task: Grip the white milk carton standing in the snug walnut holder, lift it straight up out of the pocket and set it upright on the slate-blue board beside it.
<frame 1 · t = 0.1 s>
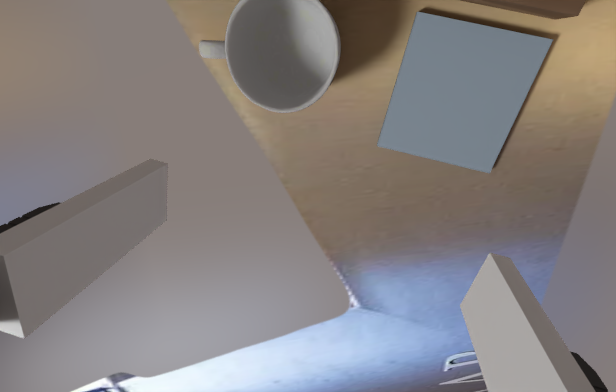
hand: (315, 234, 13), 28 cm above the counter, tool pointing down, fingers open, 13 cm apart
board: (454, 97, 36), on the counter
teacup: (284, 48, 37), on the counter
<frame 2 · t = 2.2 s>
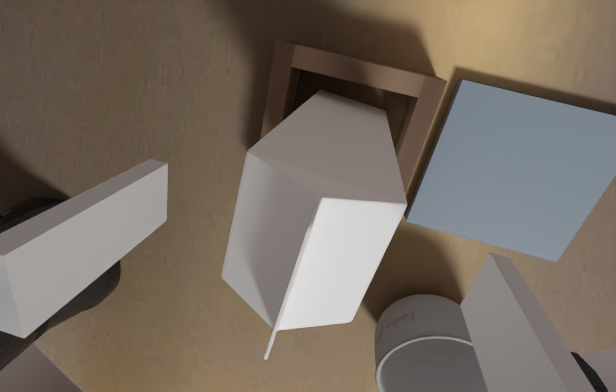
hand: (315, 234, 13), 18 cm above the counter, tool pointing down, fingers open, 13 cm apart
holder: (341, 132, 30), on the counter
milk: (342, 131, 30), resting in holder
board: (509, 174, 29), on the counter
teacup: (418, 326, 37), on the counter
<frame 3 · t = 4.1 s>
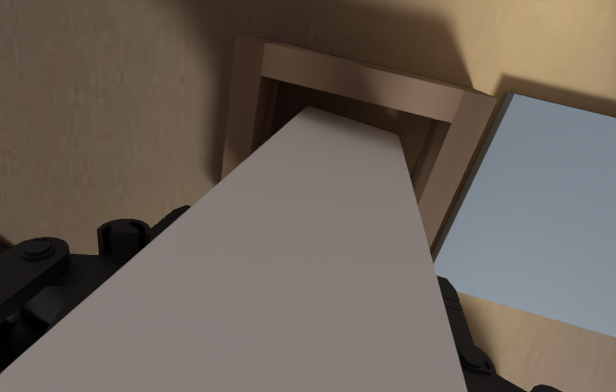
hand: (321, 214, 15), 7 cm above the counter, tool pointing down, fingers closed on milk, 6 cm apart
holder: (338, 162, 22), on the counter
milk: (338, 161, 22), resting in holder, touching gripper
board: (571, 224, 20), on the counter
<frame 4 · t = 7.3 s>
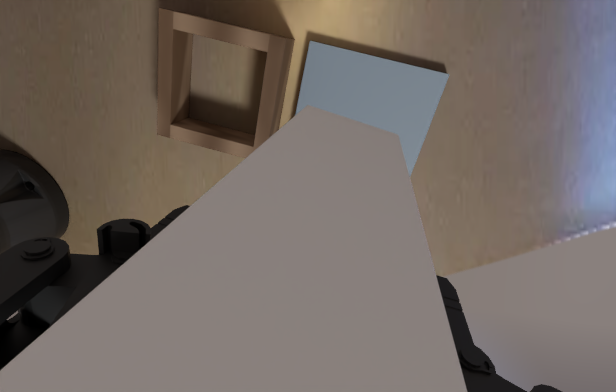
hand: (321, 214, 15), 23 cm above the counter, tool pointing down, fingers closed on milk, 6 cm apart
holder: (230, 86, 37), on the counter
milk: (338, 161, 22), point 16 cm above the counter, touching gripper
board: (360, 120, 36), on the counter
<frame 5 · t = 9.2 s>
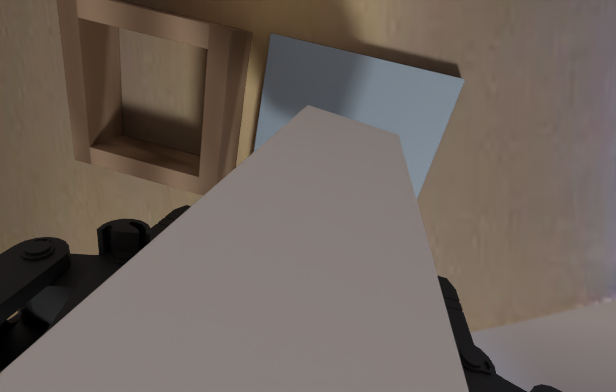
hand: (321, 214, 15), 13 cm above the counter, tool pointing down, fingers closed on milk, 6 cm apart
holder: (172, 95, 28), on the counter
milk: (338, 161, 22), point 6 cm above the counter, touching gripper
board: (343, 140, 27), on the counter
when the fingers open (9 cm above the counter, at t = 10.7 s): milk stays where it is, resting on board.
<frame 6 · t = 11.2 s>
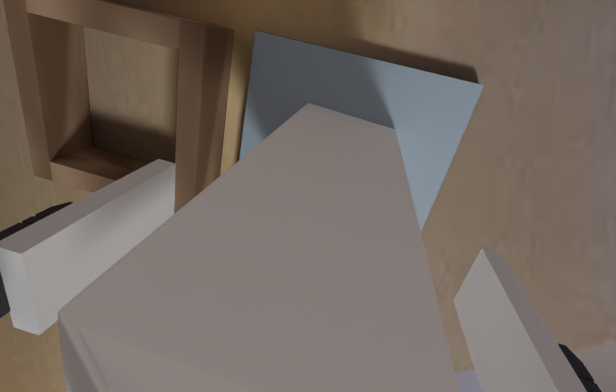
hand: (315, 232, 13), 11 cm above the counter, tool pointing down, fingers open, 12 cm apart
holder: (145, 102, 24), on the counter
milk: (338, 156, 23), point 1 cm above the counter, touching board
board: (340, 153, 23), on the counter
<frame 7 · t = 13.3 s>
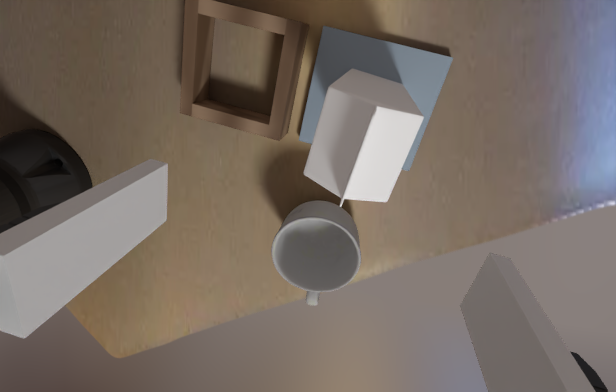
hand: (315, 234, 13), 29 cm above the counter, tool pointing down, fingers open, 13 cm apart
holder: (248, 69, 40), on the counter
milk: (368, 102, 38), point 1 cm above the counter, touching board
board: (369, 101, 38), on the counter
teacup: (321, 234, 47), on the counter
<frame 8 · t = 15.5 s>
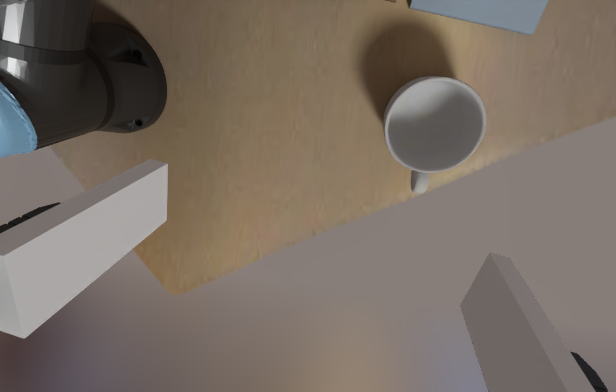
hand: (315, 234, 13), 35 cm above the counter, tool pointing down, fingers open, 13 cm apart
teacup: (419, 126, 44), on the counter
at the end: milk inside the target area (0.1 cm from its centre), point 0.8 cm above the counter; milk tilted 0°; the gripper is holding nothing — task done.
